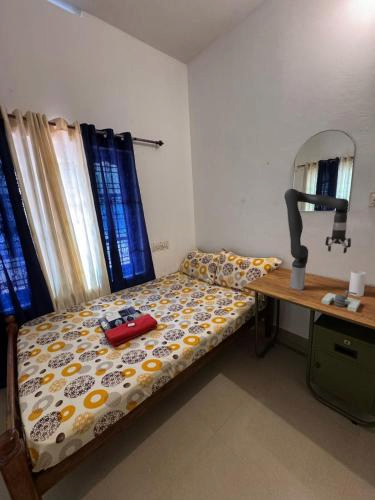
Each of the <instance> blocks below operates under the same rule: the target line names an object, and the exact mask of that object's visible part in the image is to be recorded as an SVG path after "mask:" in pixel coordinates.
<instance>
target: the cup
mask: <svg viewBox="0 0 375 500" xmlns="http://www.w3.org/2000/svg"><path fill="white" fill-rule="evenodd" d="M366 277H367V272H366V271H363V270H358V269H357V270H355V269H354V270H351V271H350V276H349V278H350V280H349V287H348V291H349V292H353V293H357V294H356V295H355V294H350V293H348V295H351V296H353V297H354V296H355V297H363V296H364V293H365V285H366Z"/></svg>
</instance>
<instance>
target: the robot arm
mask: <svg viewBox="0 0 375 500" xmlns="http://www.w3.org/2000/svg"><path fill="white" fill-rule="evenodd" d="M283 198H284V200H285V204H286V210H287V222H288V229H289V238H290V255H291V256H292V258H293V259H294V260H293V261H292V265H291V275H290V277H289V278H290V279H289V280H290V281H289V288H290V289H293V290H297V291H302V290H304V289H305V281H306V270H307V269H306V266H307V264H308V259H309V249H308V247H307V246H306V245H303V244H301V242H302V241H301V238H302V233H303V228H304V226H303V225H304V224H303V219H302V218H303V217H302V215H301V212H300V209H299V203H307V204H310V205H315V206H319V207H325V208H331V209H335V213H334V216H333V224H332V232H331V236H326V238H325V243H324V244H325V246H327V251H328V252H329V253H330V252H332V245H333V244H334V245H335V244H336V245H342V246H343V254H346V253H347V251H348V249H349V248H350V247H352V238H351V237H346V234H347V229H348V227H347V225H348V224H347V221H348V212H349V211H348V210H349V203H350V202H349V200H348V199H346V198H340V197H332V196H328V195H323V194H312V193H306V192H302V191H299V190H298V189H295V188H289V189H287V190H286V191H285V192H284V197H283ZM330 240H331V242H330ZM345 241H346V242H347V244H346V242H345ZM329 242H330V243H329Z"/></svg>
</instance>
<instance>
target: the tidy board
mask: <svg viewBox="0 0 375 500" xmlns="http://www.w3.org/2000/svg"><path fill="white" fill-rule="evenodd" d="M349 293H350V294H349ZM351 294H355V295H356V294H357V293H353V292H349V289H347V290H345V292H344V296H345V298H346V299H345V305H347V311H351V312H353V313H356V312H357V310H358V308H359V306H361V299H355V298H352V297H348V295H351ZM336 295H337V294H334V293H330V292H327V294H325V296H324V297H323V298H322V299H321V304H322V305H323V304H324V305H327V306H328V305H330V304H331V303H332V302H335V296H336Z"/></svg>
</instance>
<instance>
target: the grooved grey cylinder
mask: <svg viewBox="0 0 375 500" xmlns="http://www.w3.org/2000/svg"><path fill="white" fill-rule="evenodd" d="M335 295H336V296H335V301H334V305H335V306H336V307H339V308H343V307H345V306H346V304H345V299H346V298H345V295H342V294H335Z"/></svg>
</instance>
